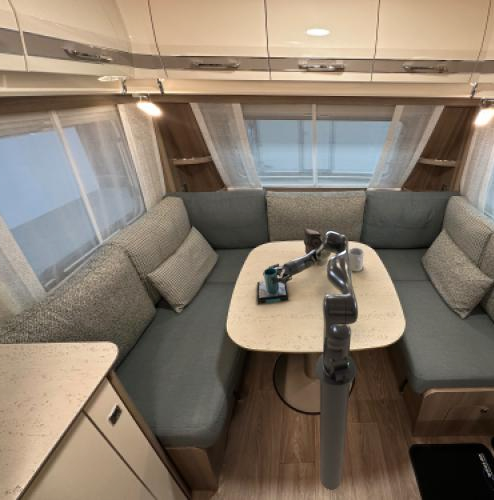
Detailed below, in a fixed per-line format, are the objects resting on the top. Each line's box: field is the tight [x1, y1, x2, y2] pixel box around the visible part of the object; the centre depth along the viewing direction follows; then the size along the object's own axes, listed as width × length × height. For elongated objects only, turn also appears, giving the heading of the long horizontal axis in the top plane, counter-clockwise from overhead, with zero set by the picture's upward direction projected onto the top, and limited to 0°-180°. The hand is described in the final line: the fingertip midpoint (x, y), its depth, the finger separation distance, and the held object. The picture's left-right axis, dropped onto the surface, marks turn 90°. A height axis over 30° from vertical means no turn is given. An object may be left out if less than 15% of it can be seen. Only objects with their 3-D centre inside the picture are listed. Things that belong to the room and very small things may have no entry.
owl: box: [303, 227, 323, 264], centre depth 161 cm, size 13×13×20 cm
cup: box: [263, 267, 279, 292], centre depth 134 cm, size 7×7×10 cm
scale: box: [256, 279, 289, 305], centre depth 137 cm, size 16×15×3 cm
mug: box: [348, 247, 364, 272], centre depth 153 cm, size 12×8×11 cm
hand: (267, 278), depth 132 cm, fingers open, 8 cm apart
